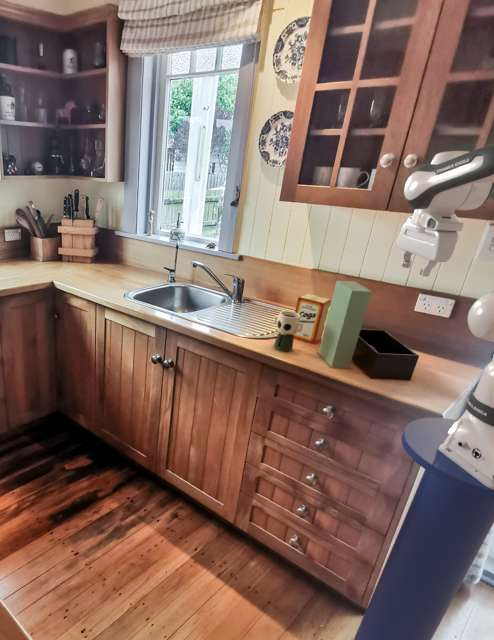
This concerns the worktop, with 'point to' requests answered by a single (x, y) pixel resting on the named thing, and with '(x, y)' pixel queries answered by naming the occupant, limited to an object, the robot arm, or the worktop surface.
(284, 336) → the character mug
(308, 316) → the baking soda box
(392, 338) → the trash bin
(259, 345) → the worktop surface
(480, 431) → the robot arm
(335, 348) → the green box
